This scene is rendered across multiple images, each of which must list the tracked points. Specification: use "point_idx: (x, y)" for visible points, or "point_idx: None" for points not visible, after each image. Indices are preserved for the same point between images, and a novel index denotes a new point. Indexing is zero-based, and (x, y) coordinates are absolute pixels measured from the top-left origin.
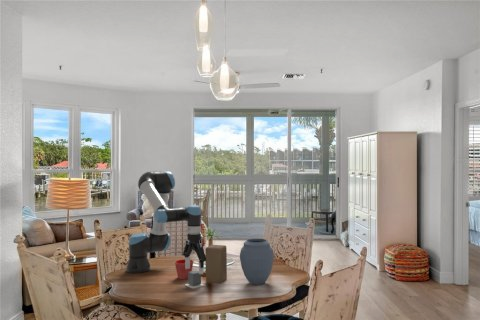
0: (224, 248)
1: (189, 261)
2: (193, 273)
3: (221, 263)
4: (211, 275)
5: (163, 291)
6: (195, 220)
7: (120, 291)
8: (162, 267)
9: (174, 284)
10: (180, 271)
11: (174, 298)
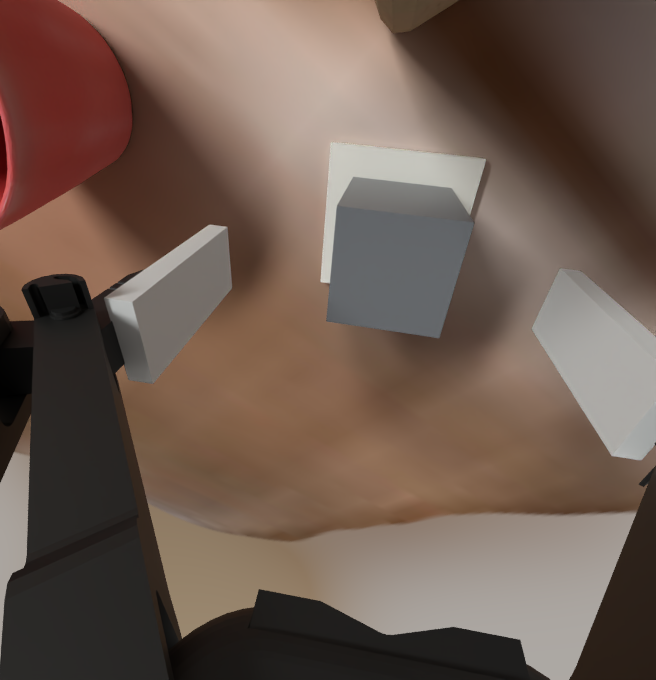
0: None
1: (182, 277)
2: (433, 329)
3: None
4: None
5: (329, 431)
6: None
7: (187, 507)
8: None
9: (239, 307)
10: (67, 190)
11: (488, 472)
